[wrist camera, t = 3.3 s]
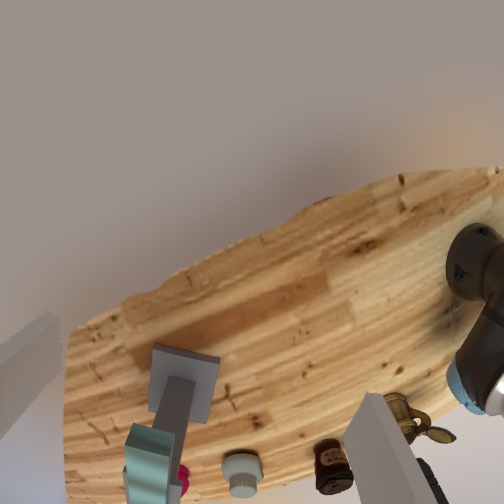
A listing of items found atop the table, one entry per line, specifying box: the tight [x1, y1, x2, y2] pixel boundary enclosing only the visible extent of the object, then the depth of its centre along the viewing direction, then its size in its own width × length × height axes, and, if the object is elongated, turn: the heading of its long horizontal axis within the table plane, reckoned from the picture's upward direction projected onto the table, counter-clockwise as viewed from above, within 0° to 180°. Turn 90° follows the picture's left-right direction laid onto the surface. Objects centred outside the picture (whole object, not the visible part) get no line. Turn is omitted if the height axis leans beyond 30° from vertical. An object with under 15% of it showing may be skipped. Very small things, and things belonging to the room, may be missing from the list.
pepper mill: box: [177, 465, 189, 497], centre depth 53 cm, size 7×7×20 cm
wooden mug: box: [383, 393, 456, 445], centre depth 50 cm, size 9×14×18 cm, turn 119°
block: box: [125, 423, 175, 504], centre depth 26 cm, size 26×4×3 cm, turn 167°
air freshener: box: [222, 453, 264, 498], centre depth 57 cm, size 11×8×10 cm
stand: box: [123, 344, 220, 504], centre depth 42 cm, size 16×12×28 cm
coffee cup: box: [313, 439, 354, 495], centre depth 55 cm, size 9×8×13 cm
